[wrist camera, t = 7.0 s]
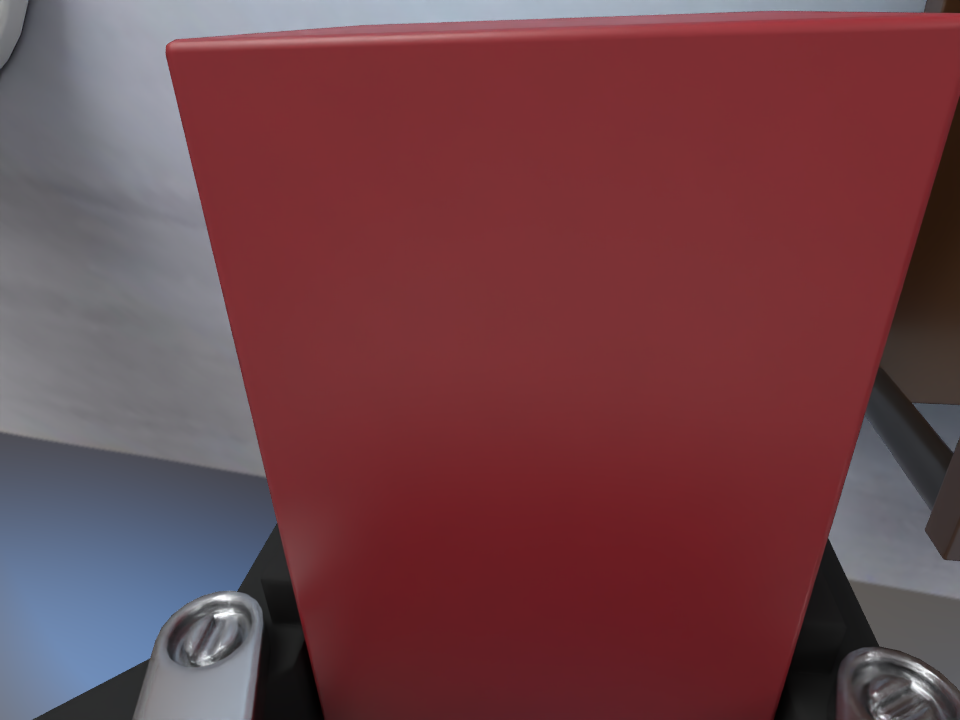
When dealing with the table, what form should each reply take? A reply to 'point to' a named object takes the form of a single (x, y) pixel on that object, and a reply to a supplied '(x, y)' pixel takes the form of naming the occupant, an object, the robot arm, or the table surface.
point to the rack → (928, 349)
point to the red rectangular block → (563, 336)
